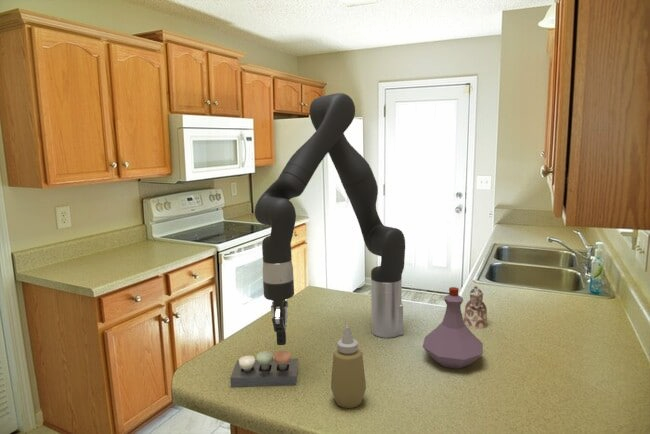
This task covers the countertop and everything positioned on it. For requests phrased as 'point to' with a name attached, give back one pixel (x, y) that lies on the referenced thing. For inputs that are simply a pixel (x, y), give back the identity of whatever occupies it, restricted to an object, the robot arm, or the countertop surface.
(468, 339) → the flask
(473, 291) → the figurine
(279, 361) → the terracotta button
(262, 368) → the sage button
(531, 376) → the countertop surface
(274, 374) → the panel
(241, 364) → the ivory button
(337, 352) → the squeeze bottle
